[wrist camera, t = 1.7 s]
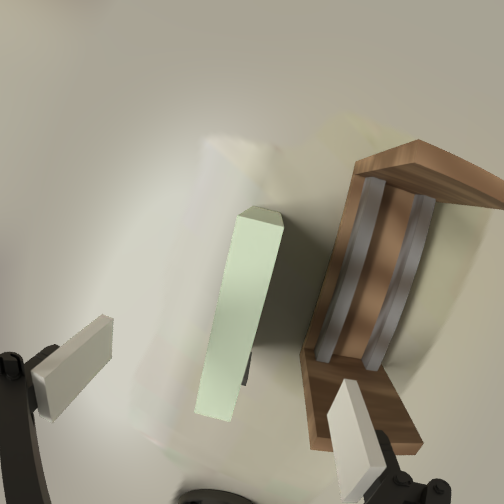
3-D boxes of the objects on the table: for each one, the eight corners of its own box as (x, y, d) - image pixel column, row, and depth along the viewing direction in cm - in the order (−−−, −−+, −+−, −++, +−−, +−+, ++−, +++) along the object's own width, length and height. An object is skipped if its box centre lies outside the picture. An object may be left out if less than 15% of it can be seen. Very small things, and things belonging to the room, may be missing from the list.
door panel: (250, 347, 37) (237, 423, 23) (221, 339, 37) (194, 412, 23) (285, 214, 33) (293, 229, 20) (252, 206, 34) (237, 215, 20)
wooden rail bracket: (373, 368, 36) (415, 454, 20) (299, 354, 36) (310, 449, 21) (433, 189, 32) (524, 192, 16) (355, 161, 32) (418, 139, 16)
